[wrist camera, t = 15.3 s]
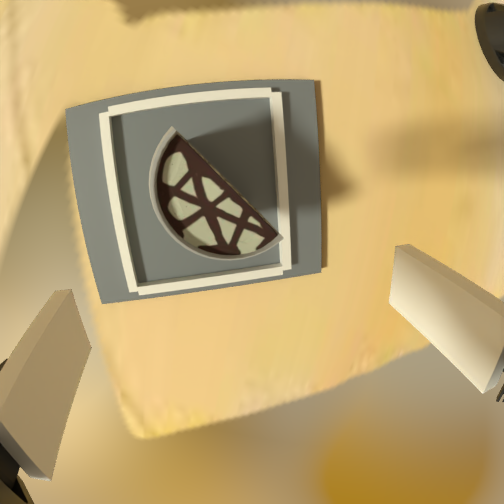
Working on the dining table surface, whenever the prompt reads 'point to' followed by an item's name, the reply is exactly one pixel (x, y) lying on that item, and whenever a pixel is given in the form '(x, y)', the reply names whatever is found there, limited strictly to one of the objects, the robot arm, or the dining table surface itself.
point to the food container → (204, 205)
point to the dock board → (221, 157)
